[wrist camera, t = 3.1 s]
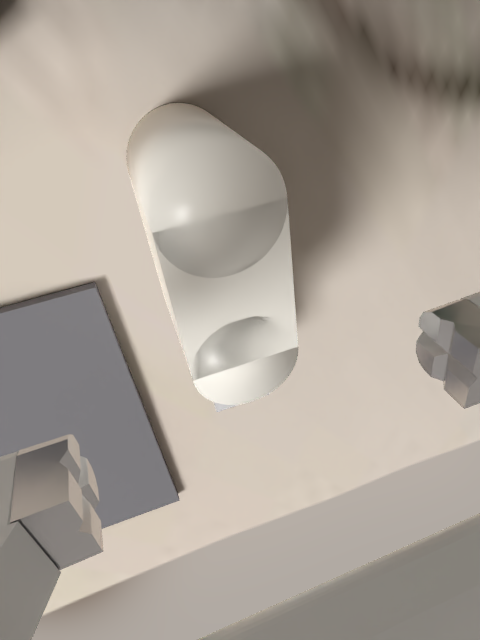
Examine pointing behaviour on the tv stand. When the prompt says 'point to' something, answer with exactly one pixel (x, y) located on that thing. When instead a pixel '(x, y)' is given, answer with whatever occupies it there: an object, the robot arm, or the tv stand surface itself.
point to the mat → (80, 398)
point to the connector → (218, 250)
